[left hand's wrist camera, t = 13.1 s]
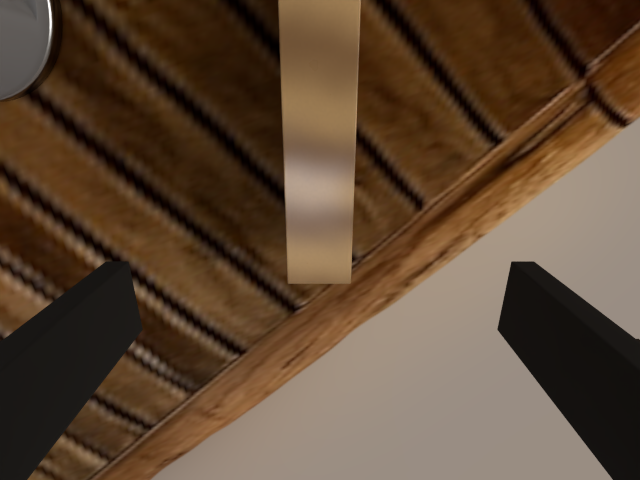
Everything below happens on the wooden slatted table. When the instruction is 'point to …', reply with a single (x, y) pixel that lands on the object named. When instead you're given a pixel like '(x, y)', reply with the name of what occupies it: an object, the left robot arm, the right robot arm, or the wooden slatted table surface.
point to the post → (319, 135)
